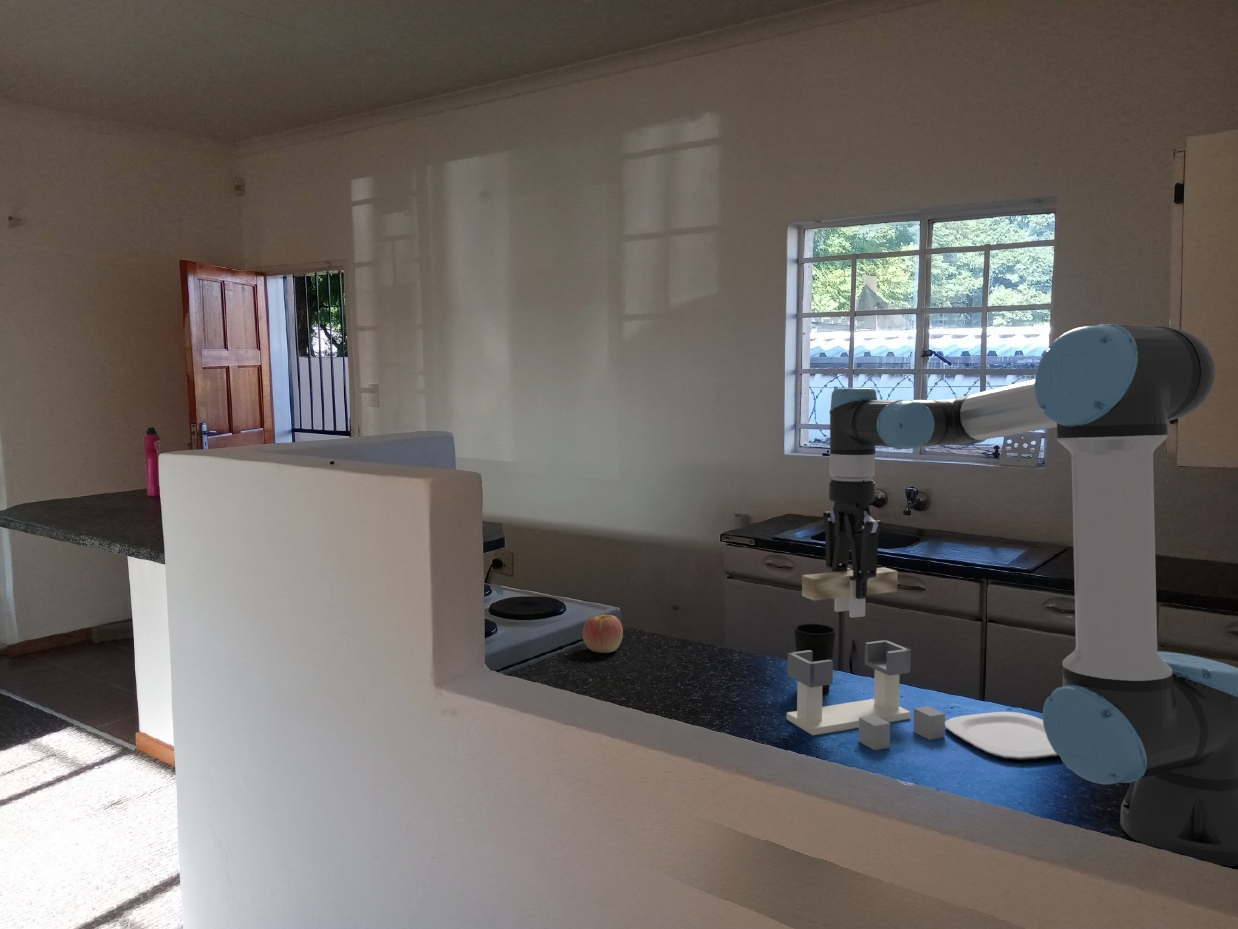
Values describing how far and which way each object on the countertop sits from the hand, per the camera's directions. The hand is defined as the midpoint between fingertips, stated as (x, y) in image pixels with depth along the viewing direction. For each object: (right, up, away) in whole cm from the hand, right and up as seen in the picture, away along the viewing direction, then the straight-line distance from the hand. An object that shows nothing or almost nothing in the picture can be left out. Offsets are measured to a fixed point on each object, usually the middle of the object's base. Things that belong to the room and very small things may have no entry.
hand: (849, 613), depth 156 cm
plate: (+24, -20, -8) cm, 33 cm away
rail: (0, +3, 0) cm, 3 cm away
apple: (-43, -16, +43) cm, 63 cm away
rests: (+7, -19, -8) cm, 22 cm away
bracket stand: (0, -19, +1) cm, 19 cm away
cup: (-3, -18, +16) cm, 24 cm away
